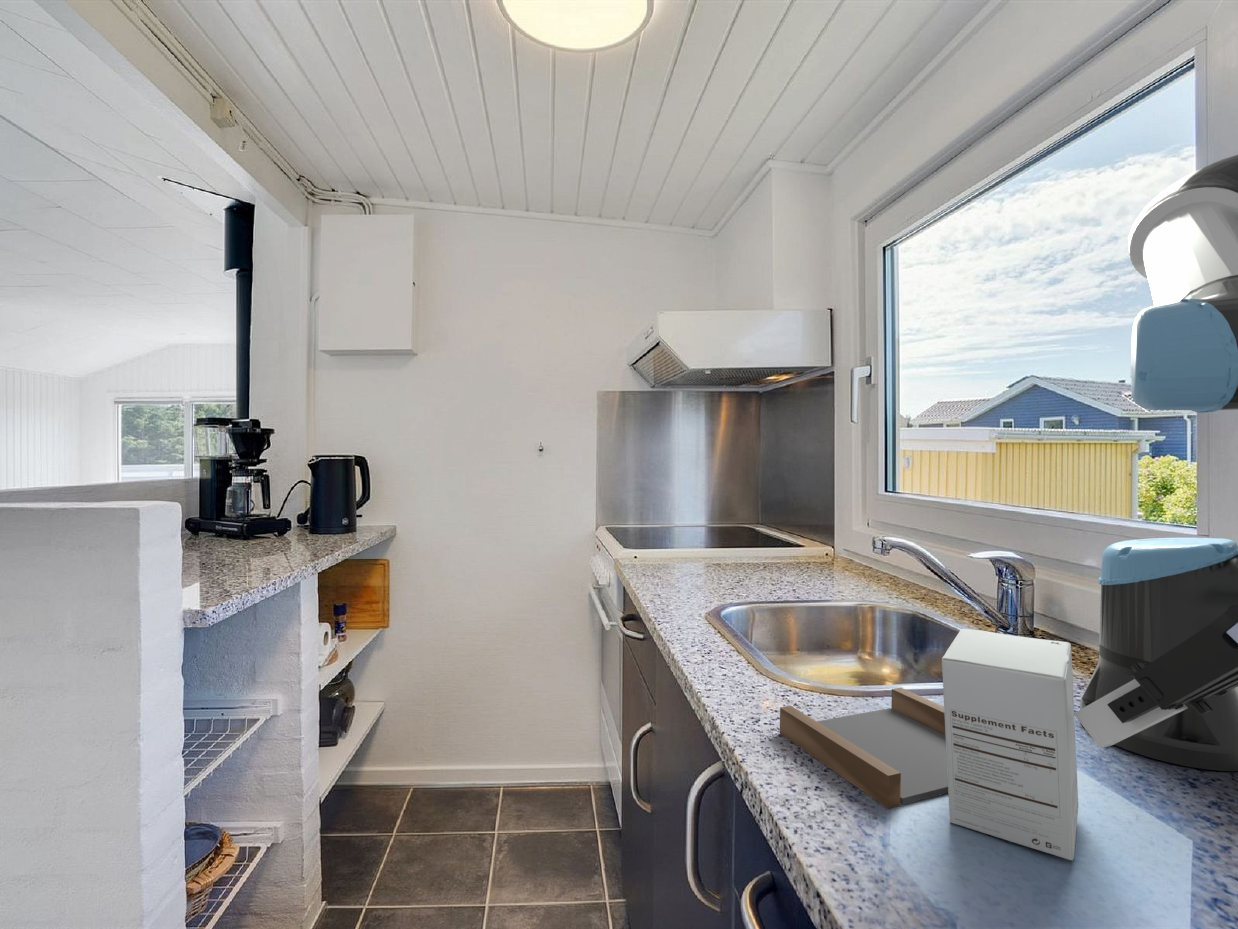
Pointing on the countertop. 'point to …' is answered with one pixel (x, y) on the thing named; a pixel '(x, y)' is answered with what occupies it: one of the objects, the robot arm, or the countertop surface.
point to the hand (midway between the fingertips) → (1092, 729)
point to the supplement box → (1012, 739)
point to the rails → (851, 758)
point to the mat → (899, 749)
